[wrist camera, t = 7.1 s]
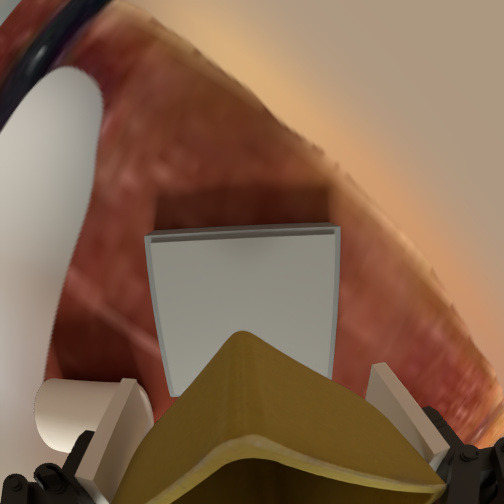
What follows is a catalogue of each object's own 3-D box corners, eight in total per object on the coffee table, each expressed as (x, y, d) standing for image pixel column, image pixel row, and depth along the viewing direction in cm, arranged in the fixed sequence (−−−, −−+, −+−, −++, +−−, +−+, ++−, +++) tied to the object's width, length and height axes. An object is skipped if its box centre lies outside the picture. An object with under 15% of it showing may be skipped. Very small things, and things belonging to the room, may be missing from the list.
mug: (57, 364, 25) (21, 406, 18) (139, 366, 26) (113, 421, 18) (95, 442, 28) (75, 486, 20) (169, 448, 28) (158, 500, 21)
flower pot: (370, 365, 14) (455, 490, 6) (269, 458, 16) (286, 580, 7) (235, 274, 13) (237, 433, 4) (141, 398, 14) (92, 536, 5)
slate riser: (175, 379, 26) (169, 398, 23) (153, 230, 23) (143, 236, 20) (322, 370, 27) (331, 388, 24) (329, 222, 24) (341, 227, 21)
